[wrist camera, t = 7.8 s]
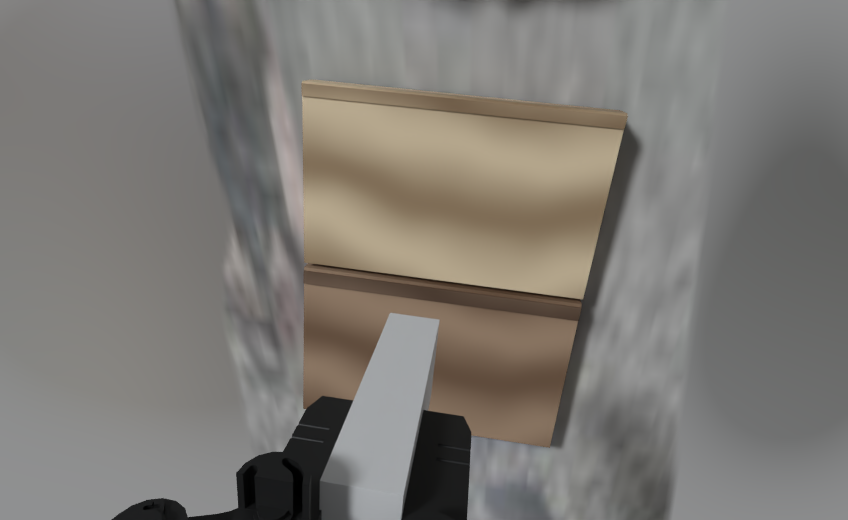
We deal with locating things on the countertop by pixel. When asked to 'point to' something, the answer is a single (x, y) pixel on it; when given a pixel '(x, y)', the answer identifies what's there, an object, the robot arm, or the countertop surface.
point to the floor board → (446, 346)
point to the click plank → (456, 185)
